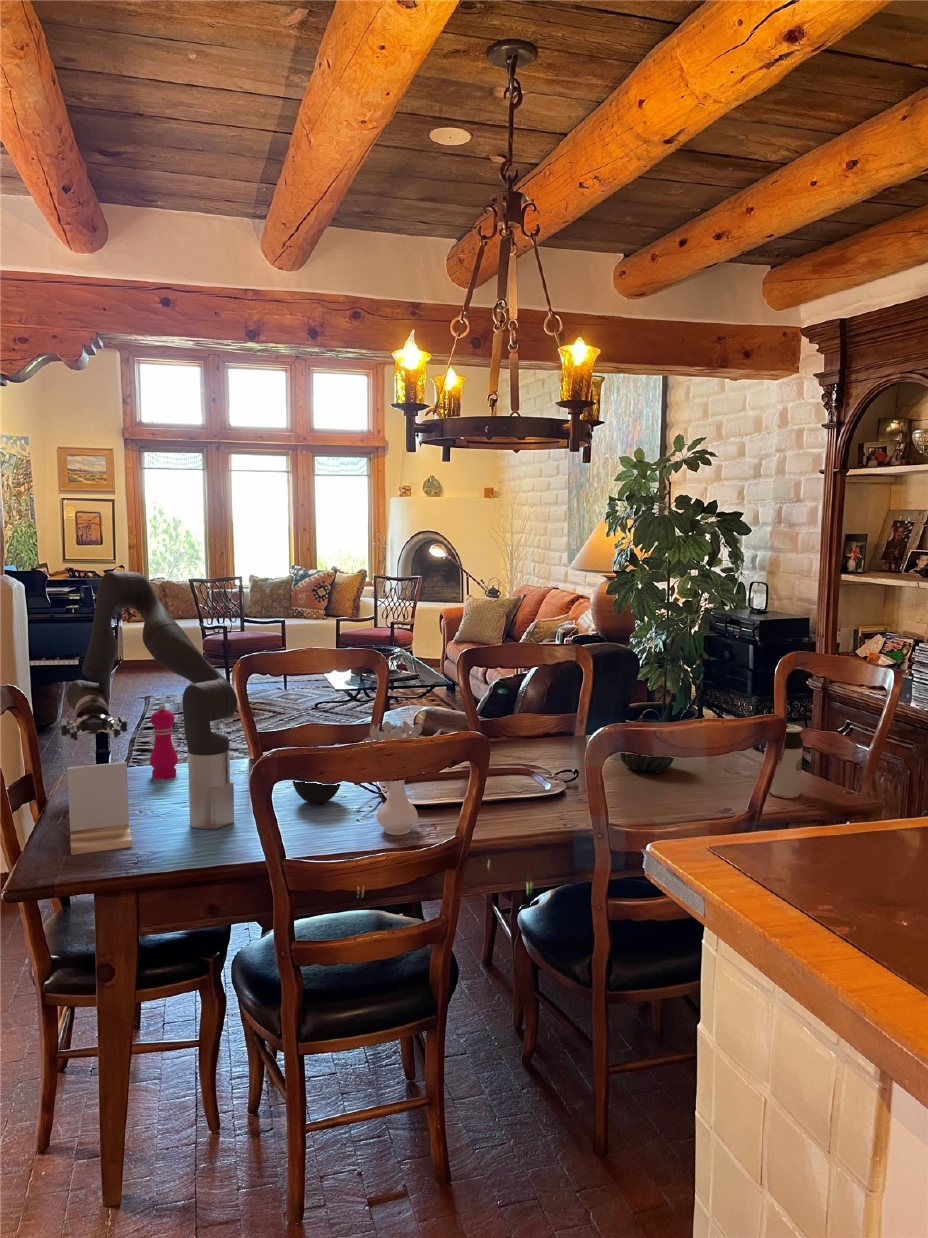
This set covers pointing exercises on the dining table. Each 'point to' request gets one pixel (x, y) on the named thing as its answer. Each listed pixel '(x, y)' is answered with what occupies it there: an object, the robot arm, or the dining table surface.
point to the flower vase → (396, 784)
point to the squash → (646, 761)
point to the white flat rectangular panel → (98, 796)
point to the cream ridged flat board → (100, 839)
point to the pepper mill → (163, 745)
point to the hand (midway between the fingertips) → (96, 735)
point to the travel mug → (790, 764)
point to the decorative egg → (315, 790)
